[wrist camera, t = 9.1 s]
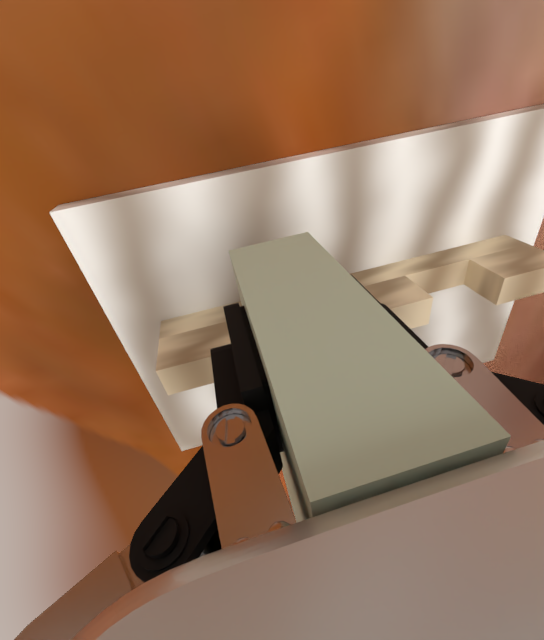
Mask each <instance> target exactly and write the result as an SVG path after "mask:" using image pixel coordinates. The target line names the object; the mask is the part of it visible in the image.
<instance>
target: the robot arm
mask: <svg viewBox="0 0 544 640" xmlns="http://www.w3.org/2000/svg"><path fill="white" fill-rule="evenodd" d="M350 275H351V274H350ZM351 276H352V277H353V278H354V279H355V280H356V281H357V282H358V283H359V284H360V285H361V286H362V287H363V288H364V289H365V290H366V291H367V292H368V293H369V294H370V295H371V296H372V297H373V298H374V299H375V300H376V301H377V302H378V303H379V304H380V305H381V306H382V307H383V308H384V309H385V310H386V311H387V312H388V313H389V314H390V315H391V316H392V317H393V318H394V319H395V320H396V321H397V322H398V323H399V324H400V325H401V326H402V327H403V328H404V329H405V330H406V331H407V332H408V333H409V334H410V335H411V336H412V337H413V338H414V339H415V340H416V341H417V342H418V343H419V344H420V345H421V346H422V347H423V348H424V349H425V350H426V351H427V352H428V353H429V354H430V355H431V356H432V357H433V358H434V359H435V360H436V361H437V362H438V363H439V364H440V365H441V366H442V367H443V368H444V369H445V370H446V371H447V372H448V373H449V374H450V375H451V376H452V377H453V378H454V379H455V380H456V381H457V382H458V383H459V384H460V385H461V386H462V387H463V388H464V389H465V390H466V391H467V392H468V393H469V394H470V395H471V396H472V397H473V398H474V399H475V400H476V401H477V402H478V403H479V404H480V405H481V406H482V407H483V408H484V409H485V410H486V411H487V412H488V413H489V414H490V415H491V416H492V417H493V418H494V419H495V420H496V421H497V422H498V423H499V424H500V425H501V426H502V427H503V428H504V429H505V430H506V431H507V432H508V433H509V434H510V435H511V438H510V440H509V442H508V444H507V446H506V448H505V450H504V452H503V454H500V455H497V456H494V457H491V458H488V459H485V460H482V461H479V462H476V463H473V464H470V465H467V466H464V467H461V468H458V469H455V470H452V471H449V472H446V473H443V474H440V475H437V476H434V477H431V478H428V479H425V480H422V481H419V482H416V483H413V484H410V485H407V486H404V487H401V488H398V489H395V490H392V491H389V492H386V493H383V494H380V495H377V496H374V497H371V498H368V499H365V500H362V501H359V502H356V503H353V504H350V505H347V506H344V507H341V508H339V509H336V510H333V511H330V512H327V513H324V514H321V515H318V516H315V517H312V518H309V519H306V520H303V521H300V522H296V520H295V517H294V515H293V512H292V509H291V507H290V504H289V501H288V499H287V496H286V493H285V491H284V488H283V485H282V483H281V480H280V477H279V475H278V474H279V472H280V471H281V469H282V467H283V464H282V459H281V455H280V452H283V451H284V449H283V445H282V441H281V436H280V432H279V427H278V423H277V418H276V414H275V410H274V405H273V401H272V396H271V392H270V388H269V384H268V380H267V377H266V374H265V371H264V367H263V364H262V361H261V358H260V355H259V351H258V348H257V345H256V342H255V339H254V336H253V332H252V329H251V326H250V323H249V320H248V316H247V313H246V310H245V307H244V306H239V303H235V304H231V305H227V306H223V308H224V313H225V318H226V323H227V328H228V332H229V337H230V342H231V344H227V345H224V346H220V347H216V348H212V349H210V353H211V362H212V370H213V378H214V387H215V395H216V404H217V409H216V410H215V411H213V412H212V413H211V414H210V415H209V416H208V417H207V419H206V420H205V421H204V423H203V426H202V429H201V439H202V444H203V446H202V447H201V449H200V450H199V451H198V452H197V454H196V455H195V456H194V457H193V458H192V460H191V461H190V462H189V463H188V465H187V466H186V467H185V468H184V470H183V471H182V472H181V473H180V475H179V476H178V477H177V478H176V480H175V481H174V482H173V483H172V485H171V486H170V487H169V488H168V490H167V491H166V492H165V493H164V495H163V496H162V497H161V498H160V500H159V501H158V502H157V503H156V505H155V506H154V507H153V508H152V510H151V511H150V512H149V513H148V515H147V516H146V517H145V518H144V520H143V521H142V522H141V524H140V526H139V527H138V529H137V530H136V531H135V534H134V536H133V539H132V541H131V544H130V545H128V546H127V547H126V548H125V549H124V550H123V551H121V552H120V553H118V552H117V551H115V552H114V553H112V554H111V555H110V556H109V557H108V558H106V559H105V560H104V561H103V562H102V563H101V564H99V565H98V566H97V567H96V568H95V569H93V570H92V571H91V572H90V573H89V574H88V575H86V576H85V577H84V578H83V579H82V580H80V581H79V582H78V583H77V584H76V585H75V586H73V587H72V588H71V589H70V590H69V591H67V593H65V594H64V595H63V596H62V597H60V598H59V599H58V600H57V601H56V602H55V603H53V604H52V605H51V606H50V607H49V608H47V609H46V610H45V611H44V612H43V613H42V614H40V615H39V616H38V617H37V618H36V619H35V620H33V621H32V622H31V623H30V624H29V625H28V626H26V628H25V629H24V630H23V631H22V632H21V633H20V634H19V635H18V636H17V637H16V638H15V639H14V640H544V385H543V384H539V383H535V382H531V381H527V380H523V379H519V378H515V377H510V376H506V375H502V374H498V373H494V372H491V371H490V370H489V369H488V368H487V367H486V366H485V365H484V364H483V363H482V362H481V361H480V360H479V359H478V358H477V357H476V356H475V355H473V354H472V353H471V352H469V351H468V350H466V349H464V348H461V347H458V346H455V345H449V344H437V345H433V346H430V347H428V346H427V345H426V344H425V343H424V342H423V341H422V340H421V339H420V338H419V337H418V336H417V335H416V334H415V333H414V332H413V331H412V330H411V329H410V328H409V327H408V326H407V325H406V324H405V323H404V322H403V321H402V320H401V319H400V318H399V317H398V316H397V315H396V314H395V313H394V312H393V311H391V310H390V309H389V308H388V307H387V306H386V305H385V304H382V303H380V302H379V301H378V300H377V299H376V298H375V297H374V296H373V295H372V294H371V293H370V292H369V291H368V290H367V289H366V288H365V287H364V286H363V285H362V284H361V283H360V282H359V281H358V280H357V279H356V278H355V277H354V276H353V275H351Z"/></svg>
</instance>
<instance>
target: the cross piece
mask: <svg viewBox="0 0 544 640" xmlns="http://www.w3.org/2000/svg"><path fill="white" fill-rule="evenodd" d="M229 255H230V259H231V263H232V267H233V271H234V275H235V279H236V283H237V287H238V291H239V296H240V300H241V304H242V306H244V307H245V310H246V313H247V316H248V320H249V323H250V326H251V329H252V332H253V336H254V339H255V342H256V345H257V348H258V351H259V355H260V358H261V361H262V364H263V367H264V371H265V374H266V377H267V380H268V384H269V388H270V392H271V396H272V401H273V405H274V410H275V414H276V418H277V423H278V427H279V432H280V436H281V441H282V445H283V449H284V451H283V452H280V455H281V459H282V464H283V467H282V470H283V475H284V479H285V482H286V486H287V489H288V493H289V497H290V500H291V504H292V507H293V511H294V514H295V518H296V522H300V521H303V520H306V519H309V518H312V517H315V516H318V515H321V514H324V513H327V512H330V511H333V510H336V509H339V508H341V507H344V506H347V505H350V504H353V503H356V502H359V501H362V500H365V499H368V498H371V497H374V496H377V495H380V494H383V493H386V492H389V491H392V490H395V489H398V488H401V487H404V486H407V485H410V484H413V483H416V482H419V481H422V480H425V479H428V478H431V477H434V476H437V475H440V474H443V473H446V472H449V471H452V470H455V469H458V468H461V467H464V466H467V465H470V464H473V463H476V462H479V461H482V460H485V459H488V458H491V457H494V456H497V455H500V454H503V452H504V450H505V448H506V446H507V444H508V442H509V440H510V438H511V435H510V434H509V433H508V432H507V431H506V430H505V429H504V428H503V427H502V426H501V425H500V424H499V423H498V422H497V421H496V420H495V419H494V418H493V417H492V416H491V415H490V414H489V413H488V412H487V411H486V410H485V409H484V408H483V407H482V406H481V405H480V404H479V403H478V402H477V401H476V400H475V399H474V398H473V397H472V396H471V395H470V394H469V393H468V392H467V391H466V390H465V389H464V388H463V387H462V386H461V385H460V384H459V383H458V382H457V381H456V380H455V379H454V378H453V377H452V376H451V375H450V374H449V373H448V372H447V371H446V370H445V369H444V368H443V367H442V366H441V365H440V364H439V363H438V362H437V361H436V360H435V359H434V358H433V357H432V356H431V355H430V354H429V353H428V352H427V351H426V350H425V349H424V348H423V347H422V346H421V345H420V344H419V343H418V342H417V341H416V340H415V339H414V338H413V337H412V336H411V335H410V334H409V333H408V332H407V331H406V330H405V329H404V328H403V327H402V326H401V325H400V324H399V323H398V322H397V321H396V320H395V319H394V318H393V317H392V316H391V315H390V314H389V313H388V312H387V311H386V310H385V309H384V308H383V307H382V306H381V305H380V304H379V303H378V302H377V301H376V300H375V299H374V298H373V297H372V296H371V295H370V294H369V293H368V292H367V291H366V290H365V289H364V288H363V287H362V286H361V285H360V284H359V283H358V282H357V281H356V280H355V279H354V278H353V277H352V276H351V275H350V274H349V273H348V272H347V271H346V270H345V269H344V268H343V267H342V266H341V265H340V264H339V263H338V262H337V261H336V260H335V259H334V258H333V257H332V256H331V255H330V254H329V253H328V252H327V251H326V250H325V249H324V248H323V247H322V246H321V245H320V244H319V243H318V242H317V241H316V240H315V239H314V238H313V237H312V236H311V235H310V234H309V233H308V232H305V233H301V234H296V235H292V236H288V237H284V238H279V239H275V240H271V241H267V242H263V243H258V244H254V245H250V246H246V247H241V248H237V249H233V250H229Z"/></svg>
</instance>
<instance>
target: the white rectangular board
mask: <svg viewBox="0 0 544 640" xmlns="http://www.w3.org/2000/svg"><path fill="white" fill-rule="evenodd" d="M49 213H50V215H51V216H52V218H53V220H54V222H55V224H56V225H57V227H58V229H59V231H60V233H61V234H62V236H63V238H64V240H65V242H66V243H67V245H68V247H69V249H70V251H71V252H72V254H73V256H74V258H75V260H76V261H77V263H78V265H79V267H80V269H81V270H82V272H83V274H84V276H85V278H86V279H87V281H88V283H89V285H90V287H91V288H92V290H93V292H94V294H95V296H96V297H97V299H98V301H99V303H100V305H101V306H102V308H103V310H104V312H105V314H106V315H107V317H108V319H109V321H110V323H111V324H112V326H113V328H114V330H115V332H116V333H117V335H118V337H119V339H120V341H121V342H122V344H123V346H124V348H125V350H126V351H127V353H128V355H129V357H130V359H131V360H132V362H133V364H134V366H135V368H136V369H137V371H138V373H139V375H140V377H141V378H142V380H143V382H144V384H145V386H146V387H147V389H148V391H149V393H150V395H151V396H152V398H153V400H154V402H155V404H156V405H157V407H158V409H159V411H160V413H161V414H162V416H163V418H164V420H165V422H166V423H167V425H168V427H169V429H170V431H171V432H172V434H173V436H174V438H175V440H176V441H177V443H178V445H179V447H180V449H181V450H182V451H184V450H187V449H191V448H194V447H198V446H201V445H203V444H202V439H201V429H202V426H203V423H204V421H205V420H206V419H207V417H208V416H209V415H210V414H211V413H212V412H213V411H215V410H216V409H217V404H216V395H215V387H214V378H213V370H212V362H211V353H210V349H212V348H216V347H220V346H224V345H227V344H231V342H230V337H229V332H228V328H227V323H226V318H225V313H224V308H223V306H227V305H231V304H235V303H239V306H242V304H241V300H240V296H239V291H238V287H237V283H236V279H235V275H234V271H233V267H232V263H231V259H230V255H229V250H233V249H237V248H241V247H246V246H250V245H254V244H258V243H263V242H267V241H271V240H275V239H279V238H284V237H288V236H292V235H296V234H301V233H305V232H308V233H309V234H310V235H311V236H312V237H313V238H314V239H315V240H316V241H317V242H318V243H319V244H320V245H321V246H322V247H323V248H324V249H325V250H326V251H327V252H328V253H329V254H330V255H331V256H332V257H333V258H334V259H335V260H336V261H337V262H338V263H339V264H340V265H341V266H342V267H343V268H344V269H345V270H346V271H347V272H348V273H349V274H351V275H353V276H354V277H355V278H356V279H357V280H358V281H359V282H360V283H361V284H362V285H363V286H364V287H365V288H366V289H367V290H368V291H369V292H370V293H371V294H372V295H373V296H374V297H375V298H376V299H377V300H378V301H379V302H380V303H382V304H385V305H386V306H387V307H388V308H389V309H390V310H391V311H393V312H394V313H395V314H396V315H397V316H398V317H399V318H400V319H401V320H402V321H403V322H404V323H405V324H406V325H407V326H408V327H409V328H410V329H411V330H412V331H413V332H414V333H415V334H416V335H417V336H418V337H419V338H420V339H421V340H422V341H423V342H424V343H425V344H426V345H427V346H428V347H430V346H433V345H437V344H449V345H455V346H458V347H461V348H464V349H466V350H468V351H469V352H471V353H472V354H473V355H475V356H476V357H477V358H478V359H479V360H480V361H481V362H482V363H484V362H488V361H491V360H494V357H495V355H496V352H497V349H498V346H499V343H500V340H501V337H502V335H503V332H504V329H505V326H506V323H507V320H508V317H509V314H510V312H511V309H512V306H513V303H514V300H518V299H521V298H525V297H529V296H532V295H536V294H540V293H543V292H544V250H542V249H539V248H537V247H534V243H535V240H536V237H537V234H538V231H539V228H540V226H541V223H542V220H543V217H544V104H541V105H536V106H531V107H526V108H522V109H517V110H512V111H507V112H502V113H498V114H493V115H488V116H483V117H478V118H474V119H469V120H464V121H459V122H454V123H450V124H445V125H440V126H435V127H430V128H426V129H421V130H416V131H411V132H406V133H402V134H397V135H392V136H387V137H382V138H378V139H373V140H368V141H363V142H359V143H354V144H349V145H344V146H339V147H335V148H330V149H325V150H320V151H315V152H311V153H306V154H301V155H296V156H291V157H287V158H282V159H277V160H272V161H267V162H263V163H258V164H253V165H248V166H243V167H239V168H234V169H229V170H224V171H219V172H215V173H210V174H205V175H200V176H196V177H191V178H186V179H181V180H176V181H172V182H167V183H162V184H157V185H152V186H148V187H143V188H138V189H133V190H128V191H124V192H119V193H114V194H109V195H104V196H100V197H95V198H90V199H85V200H80V201H76V202H71V203H66V204H61V205H58V206H57V207H55V208H54V209H53V210H52V211H50V212H49Z"/></svg>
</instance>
